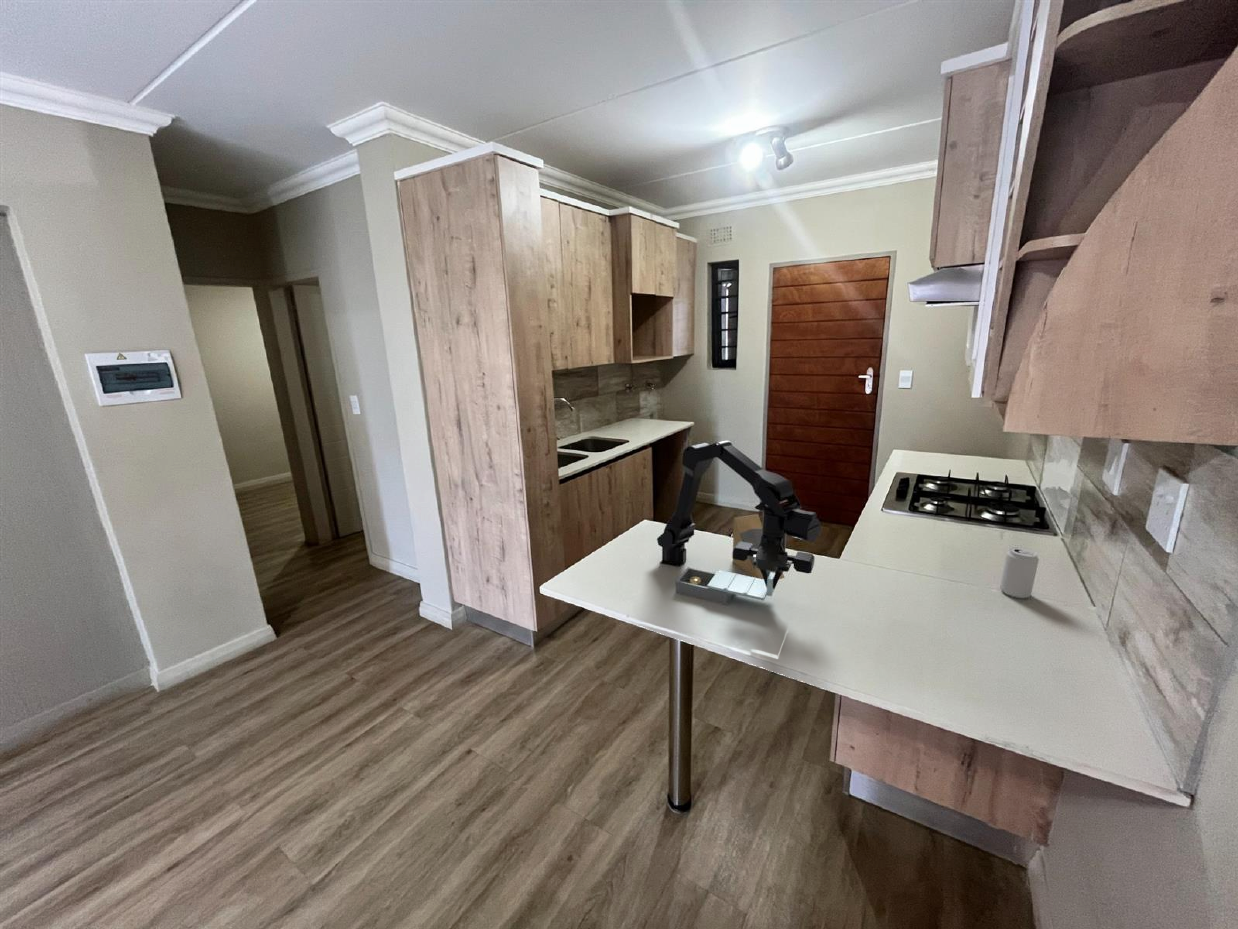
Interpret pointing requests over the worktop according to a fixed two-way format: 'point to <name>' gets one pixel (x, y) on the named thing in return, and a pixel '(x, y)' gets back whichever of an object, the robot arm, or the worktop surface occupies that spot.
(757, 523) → the sandwich container
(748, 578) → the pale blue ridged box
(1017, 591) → the beverage can
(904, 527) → the worktop surface
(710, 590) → the tub
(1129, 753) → the worktop surface
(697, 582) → the brass slug
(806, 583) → the worktop surface
